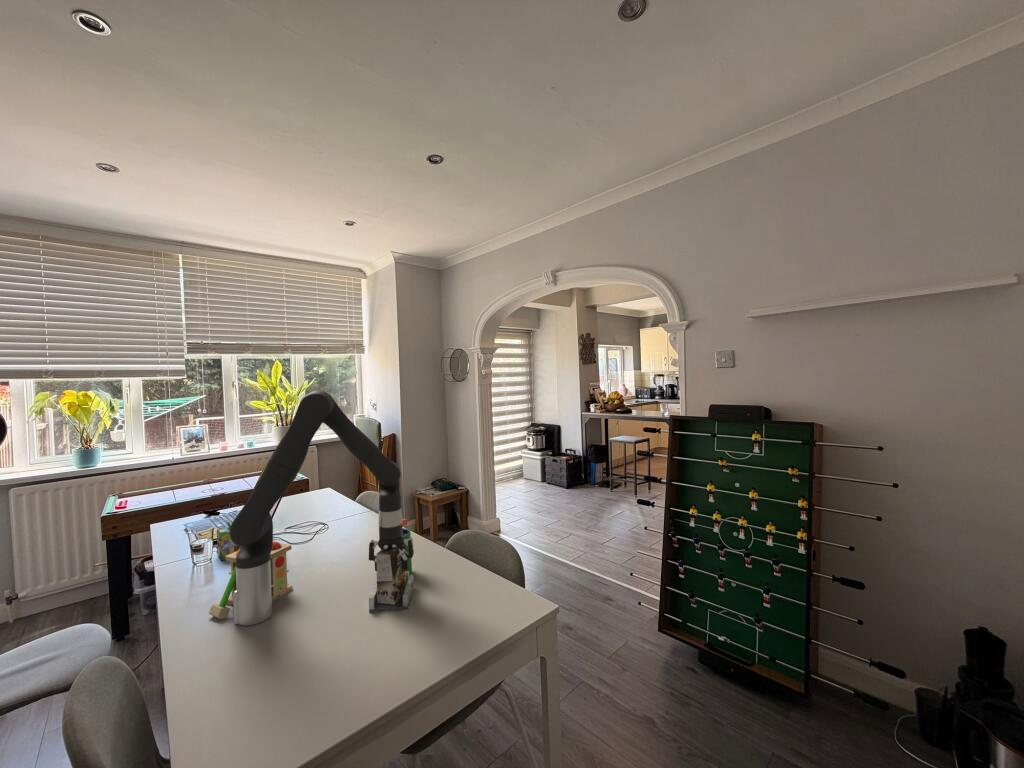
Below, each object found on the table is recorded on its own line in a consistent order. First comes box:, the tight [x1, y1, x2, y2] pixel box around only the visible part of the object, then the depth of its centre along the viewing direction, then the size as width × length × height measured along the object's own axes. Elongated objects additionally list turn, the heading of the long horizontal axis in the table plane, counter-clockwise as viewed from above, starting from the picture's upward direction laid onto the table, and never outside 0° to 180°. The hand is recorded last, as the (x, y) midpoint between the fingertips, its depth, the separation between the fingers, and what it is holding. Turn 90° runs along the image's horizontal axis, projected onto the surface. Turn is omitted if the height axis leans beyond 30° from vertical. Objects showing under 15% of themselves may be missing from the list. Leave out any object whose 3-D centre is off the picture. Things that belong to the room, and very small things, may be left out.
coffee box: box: [375, 544, 406, 604], centre depth 139 cm, size 9×6×16 cm
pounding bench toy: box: [208, 541, 293, 620], centre depth 140 cm, size 23×14×18 cm, turn 160°
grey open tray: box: [368, 571, 415, 613], centre depth 140 cm, size 12×14×6 cm
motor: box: [402, 518, 413, 575], centre depth 159 cm, size 10×9×20 cm
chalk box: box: [216, 520, 241, 562], centre depth 180 cm, size 9×9×15 cm
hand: (391, 571), depth 140 cm, fingers open, 8 cm apart
